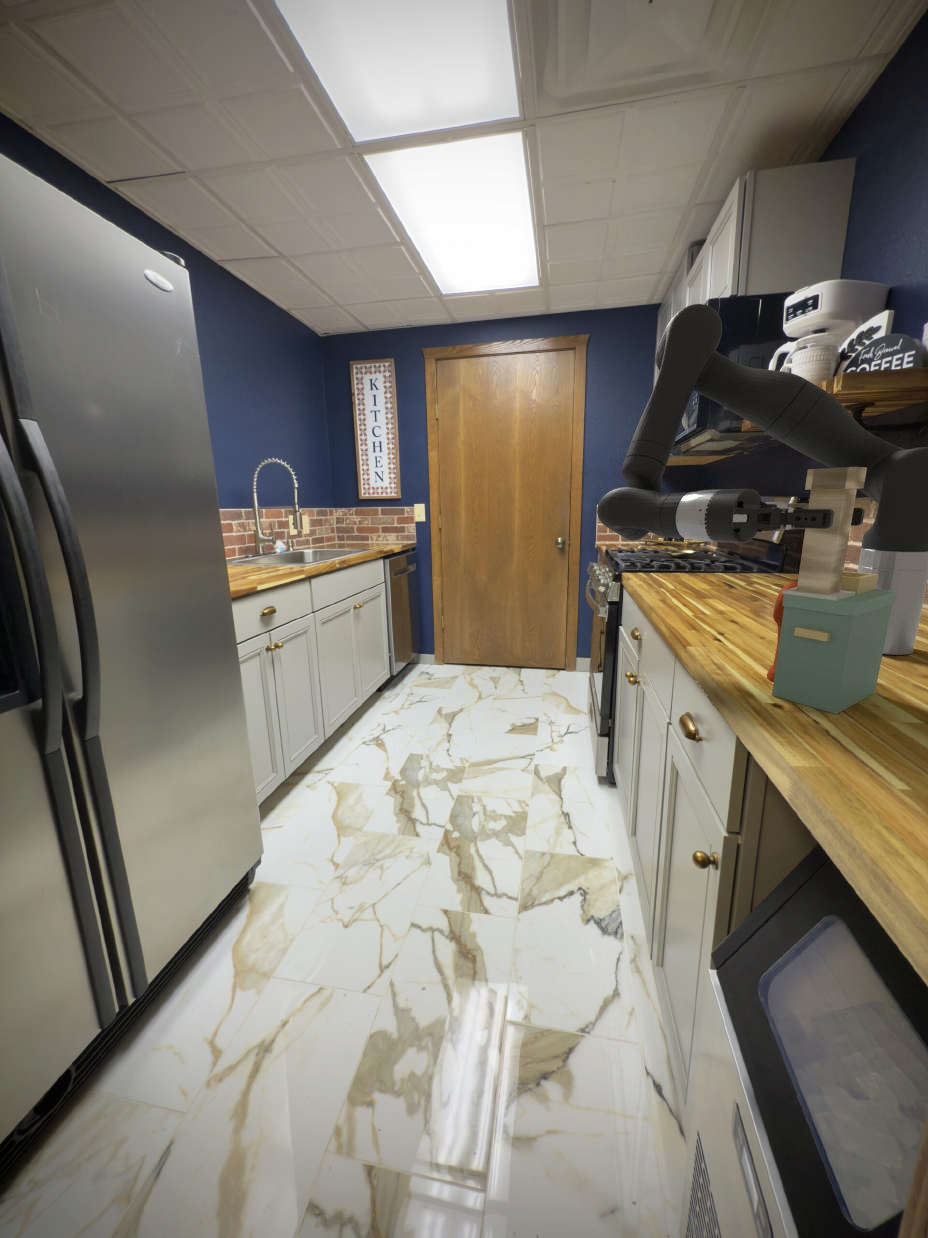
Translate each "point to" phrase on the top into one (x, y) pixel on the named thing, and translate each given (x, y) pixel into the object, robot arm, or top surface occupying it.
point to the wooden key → (829, 545)
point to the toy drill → (778, 619)
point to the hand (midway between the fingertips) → (848, 517)
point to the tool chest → (832, 643)
